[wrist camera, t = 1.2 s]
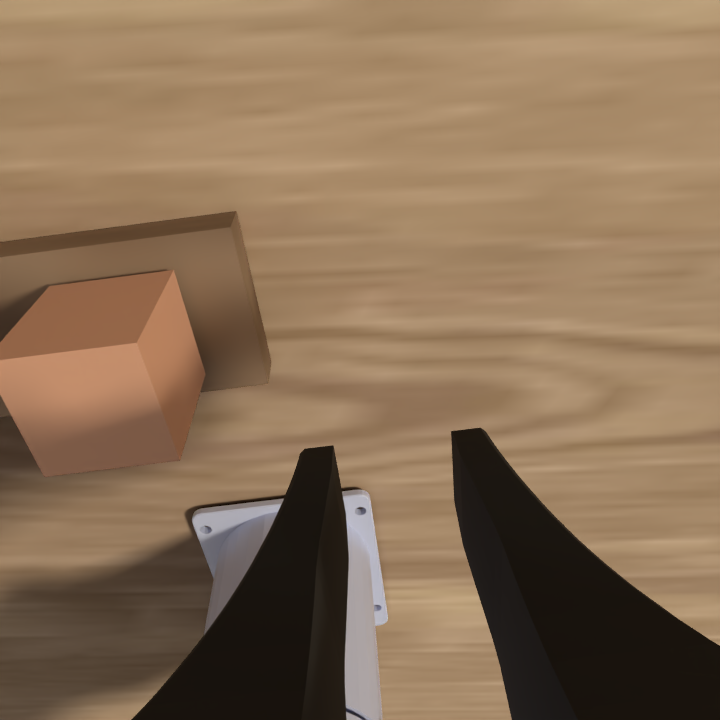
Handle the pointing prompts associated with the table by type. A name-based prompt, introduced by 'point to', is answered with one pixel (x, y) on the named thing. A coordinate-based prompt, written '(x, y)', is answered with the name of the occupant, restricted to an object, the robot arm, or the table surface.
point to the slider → (103, 374)
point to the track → (148, 255)
